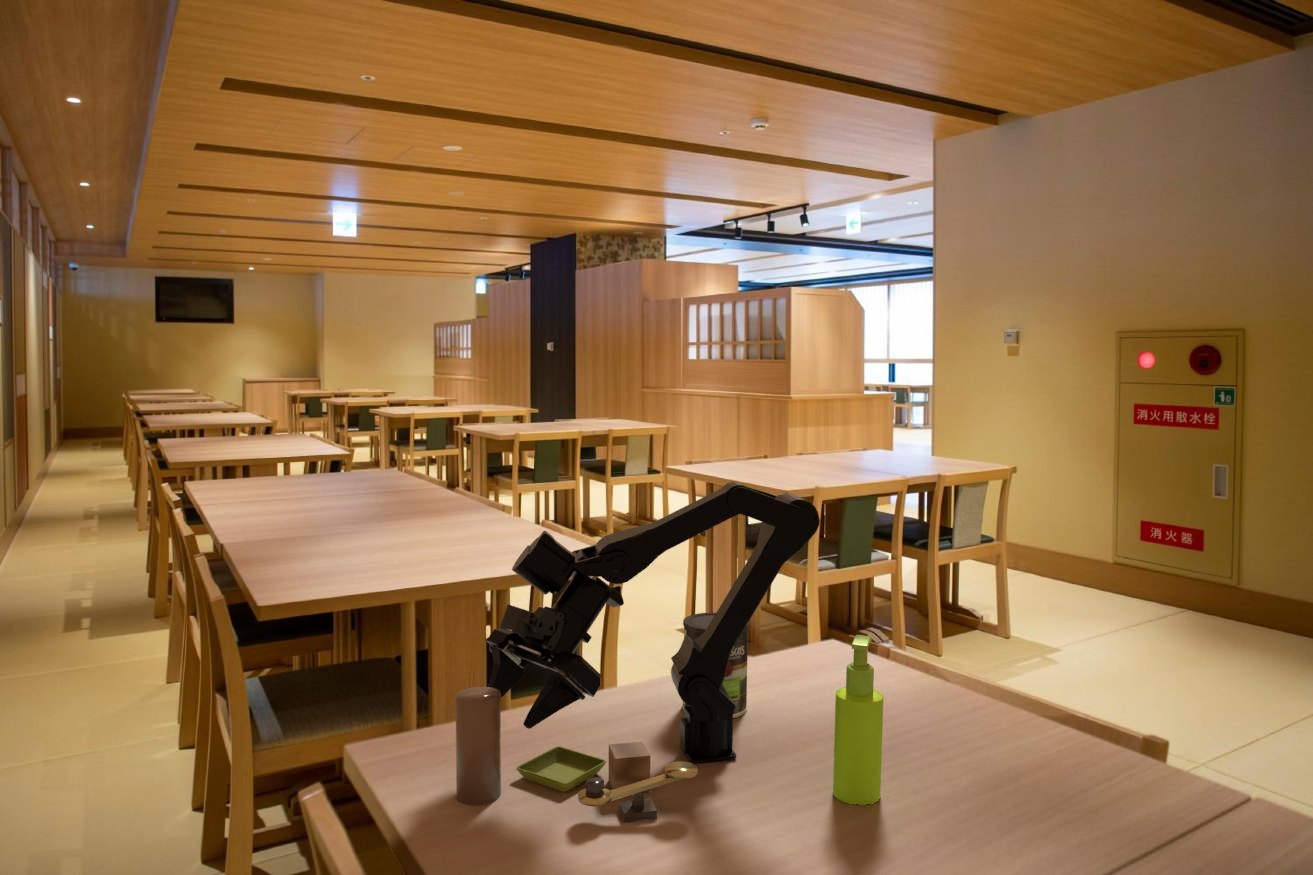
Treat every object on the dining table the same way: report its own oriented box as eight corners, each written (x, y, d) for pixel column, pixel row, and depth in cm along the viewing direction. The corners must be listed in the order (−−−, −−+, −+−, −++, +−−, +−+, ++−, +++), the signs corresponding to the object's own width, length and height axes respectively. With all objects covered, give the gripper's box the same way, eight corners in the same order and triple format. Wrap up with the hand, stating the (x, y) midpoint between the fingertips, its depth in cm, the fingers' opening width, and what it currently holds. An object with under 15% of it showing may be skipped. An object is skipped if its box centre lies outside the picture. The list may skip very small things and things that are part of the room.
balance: (691, 800, 119) (692, 759, 118) (700, 815, 115) (701, 773, 114) (575, 812, 115) (575, 770, 115) (580, 828, 111) (581, 785, 111)
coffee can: (757, 716, 147) (759, 627, 145) (694, 723, 144) (695, 632, 142) (733, 694, 156) (735, 610, 155) (673, 699, 153) (674, 614, 152)
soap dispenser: (883, 784, 123) (888, 634, 122) (877, 808, 117) (882, 649, 115) (837, 777, 125) (841, 629, 124) (829, 800, 119) (833, 644, 117)
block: (642, 778, 125) (642, 741, 125) (650, 793, 121) (650, 755, 120) (608, 781, 124) (608, 744, 123) (615, 796, 120) (615, 758, 119)
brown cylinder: (499, 783, 123) (498, 685, 122) (502, 802, 118) (502, 700, 116) (455, 787, 122) (454, 688, 120) (457, 807, 116) (456, 703, 115)
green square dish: (514, 782, 124) (514, 766, 124) (557, 759, 131) (557, 744, 131) (565, 800, 119) (565, 784, 119) (608, 775, 126) (608, 760, 126)
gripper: (497, 569, 130) (427, 665, 124) (581, 593, 116) (507, 703, 110) (545, 614, 136) (480, 709, 130) (630, 642, 122) (563, 750, 116)
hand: (505, 716), depth 121 cm, fingers open, 9 cm apart
